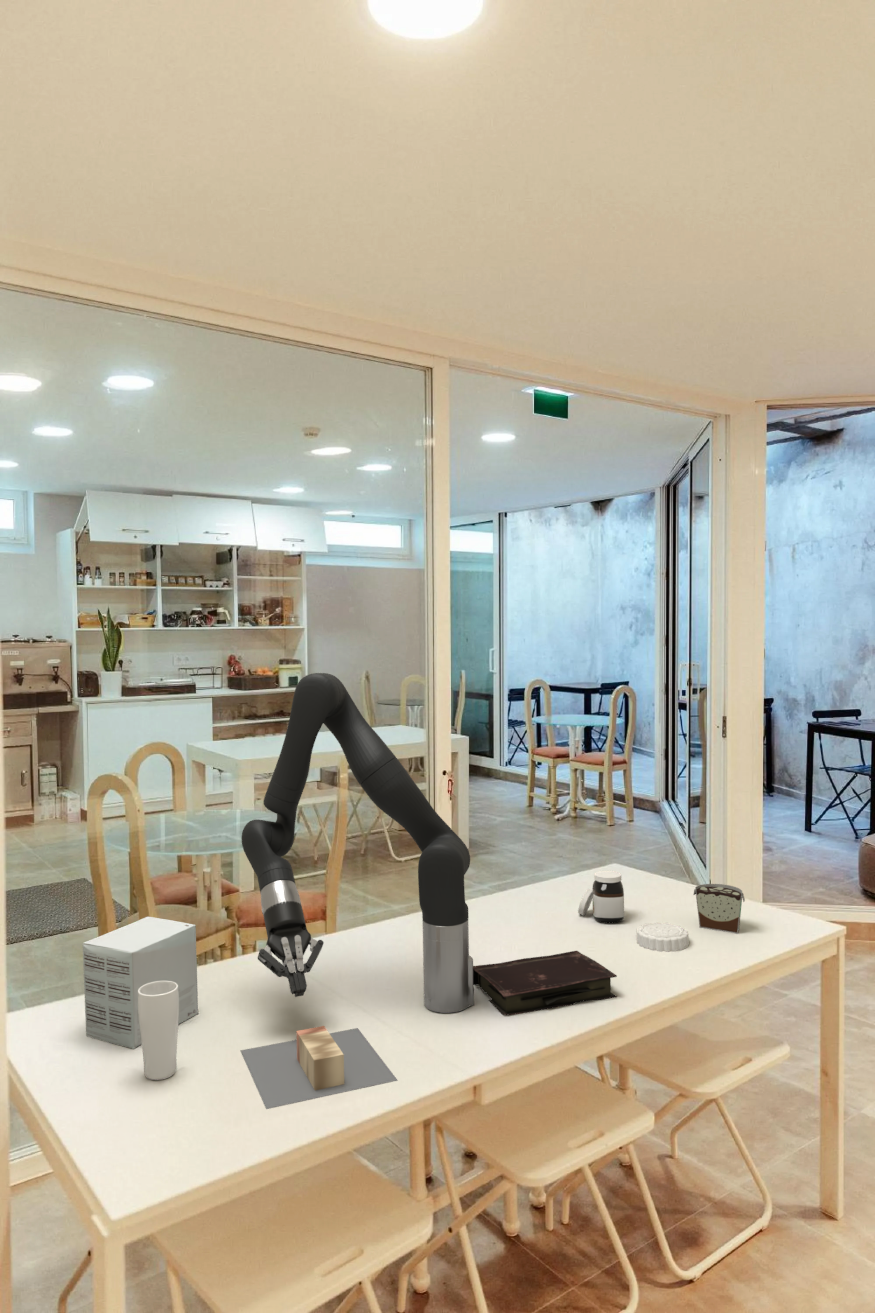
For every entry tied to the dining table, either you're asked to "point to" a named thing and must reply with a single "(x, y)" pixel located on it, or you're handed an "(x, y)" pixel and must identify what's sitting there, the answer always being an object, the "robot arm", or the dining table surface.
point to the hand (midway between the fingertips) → (300, 994)
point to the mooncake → (662, 937)
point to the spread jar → (605, 898)
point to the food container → (719, 907)
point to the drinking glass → (159, 1027)
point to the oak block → (320, 1057)
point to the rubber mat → (289, 1083)
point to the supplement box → (136, 975)
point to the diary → (543, 982)
